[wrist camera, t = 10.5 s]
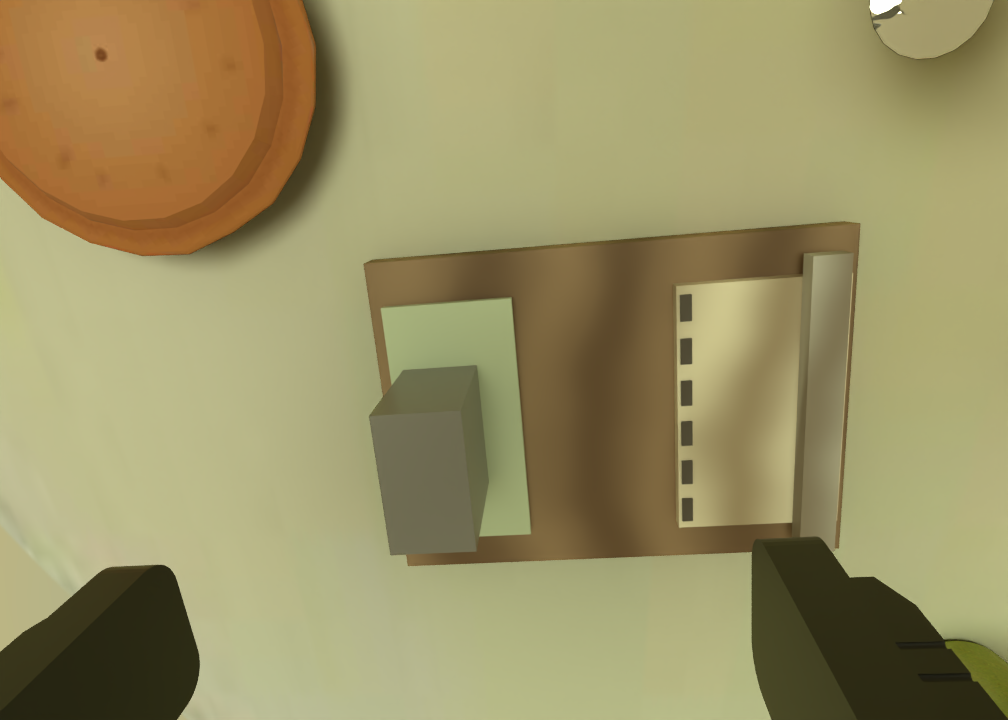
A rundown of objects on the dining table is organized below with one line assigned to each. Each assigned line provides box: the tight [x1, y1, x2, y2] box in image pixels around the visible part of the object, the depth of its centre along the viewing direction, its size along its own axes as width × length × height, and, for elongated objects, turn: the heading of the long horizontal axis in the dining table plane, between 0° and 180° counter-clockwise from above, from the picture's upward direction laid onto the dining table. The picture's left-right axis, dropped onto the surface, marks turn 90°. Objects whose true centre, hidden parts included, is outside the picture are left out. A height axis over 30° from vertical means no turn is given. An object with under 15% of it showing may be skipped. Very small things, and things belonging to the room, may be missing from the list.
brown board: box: [364, 221, 860, 566], centre depth 30 cm, size 22×16×3 cm
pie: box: [0, 0, 316, 256], centre depth 26 cm, size 16×16×5 cm
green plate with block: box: [369, 297, 531, 555], centre depth 27 cm, size 6×12×6 cm, turn 5°
